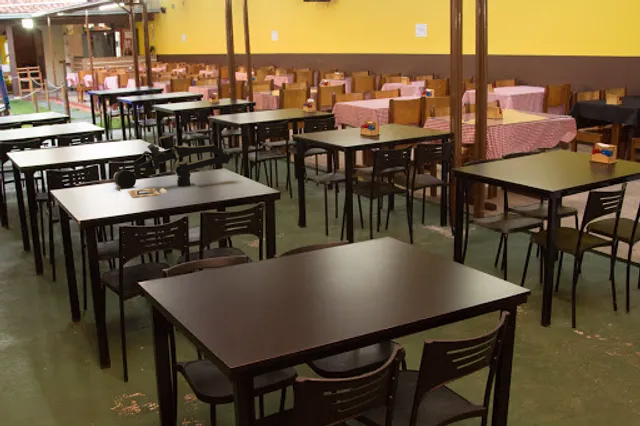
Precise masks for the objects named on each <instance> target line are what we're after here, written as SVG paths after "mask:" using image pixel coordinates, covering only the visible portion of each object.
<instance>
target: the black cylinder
mask: <svg viewBox="0 0 640 426" xmlns="http://www.w3.org/2000/svg"><path fill="white" fill-rule="evenodd" d="M113 180H114V182H115V183H116V185H117V186H118V187H120V188H122V189H132V188H133V187H134V186H135V185H136V183H137V178H136V175H135V173H134V172H132V171H131V170H127V169H121V170H118V171H117V172H115V173H114V175H113Z"/></svg>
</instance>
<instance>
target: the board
mask: <svg viewBox="0 0 640 426" xmlns="http://www.w3.org/2000/svg"><path fill="white" fill-rule="evenodd" d="M127 193H128V194H129V195H130V197H131V198H132V199H139V198H140V199H141V198H149V197H157V196H161V193H160V192H158V191H157V189H155V187H153V188H152V187H151V188H143V189H133V190H127Z"/></svg>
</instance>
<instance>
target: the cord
mask: <svg viewBox="0 0 640 426" xmlns="http://www.w3.org/2000/svg"><path fill="white" fill-rule="evenodd" d="M158 193H159V194H160V195H161V194H162V195H163V194H168V191H167V190H166V189H165V188H164V187H161V188H159V192H158Z"/></svg>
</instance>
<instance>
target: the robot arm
mask: <svg viewBox="0 0 640 426" xmlns="http://www.w3.org/2000/svg"><path fill="white" fill-rule="evenodd" d="M159 143H160V146H161V149H164V150H163V151H160V147H159V146H155V144H153V143H150V144H149V145H148V146H147V149H149V151H148V150H144V151H143V153H142V156H140V157H139V158H137V159H136V160H134V161H133V163H134V164H136V165H138V168H139V169H148V170H149V169H150V170H153V171H154V170H155V171H157V170H160V168H161V165H160V164H165V163H166V162H169V161H173V162H175V163H176V164H174V165H173V168H172V171H173V173H175V174H176V176H177V179H176V186H177V187H188V186H189V187H190V186H191V173H190V172H191V171H194V170H197V169H201V168H204V167H209V166H212V165H223V164H228V163H229V162H230V161H231V156H230V154H228V153H226V152H224V151H223V150H222V149H221V148H219V147H218V146H217V145H215V144H214V143H213V144H212V143H211V144H209V145H207V144H206V145H196V146H186V145H176V144H174V140H173V136H172V135H165V136H164V135H163V136H160V137H159ZM205 153H212V154H213V156H210V157H208V158H203V159H200V160H196V161H191V162H187V161H184V160H183V161H182V160H181V161H180V162H177V161H178V159H179V158H185V157H189V156H191V155H195V154H197V155H198V154H205ZM178 157H179V158H178Z"/></svg>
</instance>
